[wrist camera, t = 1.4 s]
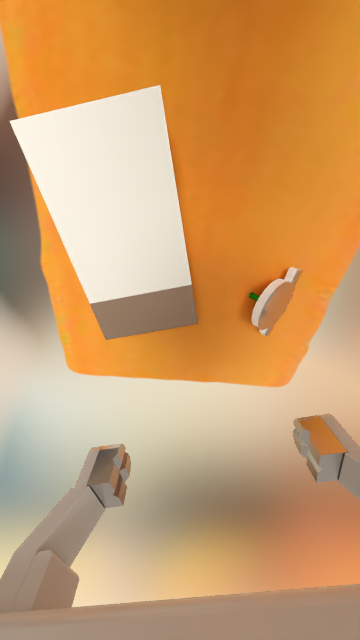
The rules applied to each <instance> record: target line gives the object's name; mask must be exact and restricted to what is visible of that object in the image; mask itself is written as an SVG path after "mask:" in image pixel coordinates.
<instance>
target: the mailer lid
mask: <svg viewBox="0 0 360 640" xmlns="http://www.w3.org/2000/svg"><path fill="white" fill-rule="evenodd" d="M10 123H11V125H12V127H13V130H14V132H15V134H16V137H17V139H18V141H19V143H20V146H21V148H22V150H23V153H24V155H25V157H26V160H27V162H28V164H29V166H30V169H31V171H32V173H33V175H34V178H35V180H36V182H37V185H38V187H39V189H40V191H41V194H42V196H43V198H44V200H45V203H46V205H47V207H48V210H49V212H50V214H51V216H52V219H53V221H54V223H55V225H56V228H57V230H58V232H59V235H60V237H61V239H62V241H63V244H64V246H65V248H66V250H67V253H68V255H69V257H70V260H71V262H72V264H73V266H74V269H75V271H76V273H77V275H78V278H79V280H80V282H81V285H82V287H83V289H84V291H85V294H86V296H87V298H88V300H89V303H90V305H91V307H92V310H93V312H94V314H95V316H96V319H97V321H98V323H99V325H100V328H101V330H102V332H103V335H104V337H105V339H106V340H109V339H114V338H120V337H126V336H131V335H137V334H142V333H148V332H154V331H159V330H165V329H170V328H176V327H182V326H187V325H193V324H198V321H197V314H196V308H195V302H194V296H193V289H192V283H191V277H190V270H189V264H188V258H187V251H186V245H185V239H184V233H183V226H182V220H181V214H180V207H179V201H178V195H177V188H176V182H175V176H174V170H173V163H172V157H171V151H170V144H169V138H168V132H167V125H166V119H165V113H164V107H163V100H162V94H161V88H160V85H158V86H153V87H149V88H145V89H141V90H137V91H133V92H129V93H124V94H120V95H116V96H112V97H108V98H104V99H100V100H95V101H91V102H87V103H83V104H79V105H75V106H70V107H66V108H62V109H58V110H54V111H50V112H46V113H41V114H37V115H33V116H29V117H25V118H21V119H17V120H12V121H10Z"/></svg>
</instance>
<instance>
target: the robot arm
mask: <svg viewBox="0 0 360 640" xmlns="http://www.w3.org/2000/svg"><path fill="white" fill-rule="evenodd" d="M294 426H295V427H296V428H295V430H294V431H293V437H294V441H295V444H296V446H297V448H298V450H299V452H300V454H301V455H303V456H304V457H305V458H307V466H308V468H309V470H310V472H311V473H312V475H313V477H314V479H315V481H316V482H327V481H337V480H339V481H338V482H339V483H340V484H341V485H343V486H344V487H345V488H346V489H347V490H348V491H350V492H351V493H352V494H353V495H354V496H356V497H357V498H358V499H359V500H360V447H359V446H358V444H357V443H356V442H355V441H354V440H353V439H352V437H351V436H350V435H349V434H348V433H347V432H346V430H345V429H344V428H343V427H342V426H341V425H340V423H339V422H338V421H337V420H336V419H335V418H334V416H332V415H331V414H325V415H319V416H317V415H316V416H310V417H303V418H297V419H295V420H294ZM130 468H131V461H130V456H129V454H128V453H126V452H125V446H124V445H123V444H117V445H110V446H101V447H94V448H92V449H91V450H90V451H89V453H88V455H87V458H86V461H85V463H84V465H83V468H82V470H81V473H80V475H79V477H78V480H77V482H76V485H75V487H74V488H71V489H70V490H69V491H68V492H67V494H66V495H65V496H64V497H63V498H62V499H61V500H60V501H59V503H58V504H57V505H56V506H55V507H54V508H53V509H52V510H51V512H50V513H49V514H48V515H47V516H46V517H45V518H44V519H43V521H42V522H41V523H40V524H39V525H38V526H37V527H36V528H35V530H34V531H33V532H32V533H31V534H30V535H29V536H28V537H27V539H26V540H25V541H24V542H23V543H22V544H21V546H20V547H19V548H18V549H17V550H16V551H15V552H14V554H13V556H12V558H11V560H10V562H9V564H8V566H7V567H6V569H5V571H4V573H3V575H2V577H1V579H0V640H360V584H351V585H339V586H328V587H315V588H303V589H291V590H280V591H279V590H278V591H266V592H254V593H242V594H230V595H217V596H205V597H193V598H182V599H169V600H158V601H145V602H132V603H120V604H109V605H97V606H84V607H72V604H73V600H74V596H75V592H76V589H77V585H78V582H79V577H78V575H77V574H76V573H75V572H74V571H73V570H72V569H71V568H70V566H71V564H72V563H73V561H74V559H75V558H76V556H77V555H78V553H79V551H80V550H81V548H82V546H83V545H84V543H85V542H86V540H87V538H88V537H89V535H90V533H91V532H92V530H93V528H94V527H95V525H96V524H97V522H98V520H99V519H100V517H101V516H102V514H103V512H104V511H105V508H110V507H116V506H123V504H124V500H125V495H126V489H127V486H126V484H125V481H126V480H127V478H128V477H129V475H130ZM71 607H72V608H71Z"/></svg>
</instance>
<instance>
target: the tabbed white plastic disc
mask: <svg viewBox="0 0 360 640" xmlns="http://www.w3.org/2000/svg"><path fill="white" fill-rule="evenodd" d="M301 273H302V270H299V269H296V268H292V267H290V268H289V270H288V272H287V274H286V276H285V278H284V280H283V279H276V280H274V281H273V282H272V283H271V284H269V285H268V286H267V288H266V289H265V290H264V291H263V293H262V294H261V296H259V295H257V294H254V293H251V294H250V295H249V298H252V299H254V300H256V301H257V302H256V305H255V307H254V309H253V312H252V317H251V321H252V324H253V325H255V326H256V327H258V328H260V330H259V332H260V333H261V334H263V335H265V336H267V335H270V333H271V331H272V329H273V327H274V325H275V323H276V322H277V321H278V320H279V318H280V317H281V315H282V314H283V313H284V312H285V310H286V307H287V305H288V303H289V301H290V300H291V299H292V296H293V292H294V289H295V285H296V283H297V281H298V279H299V277H300V275H301Z"/></svg>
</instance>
